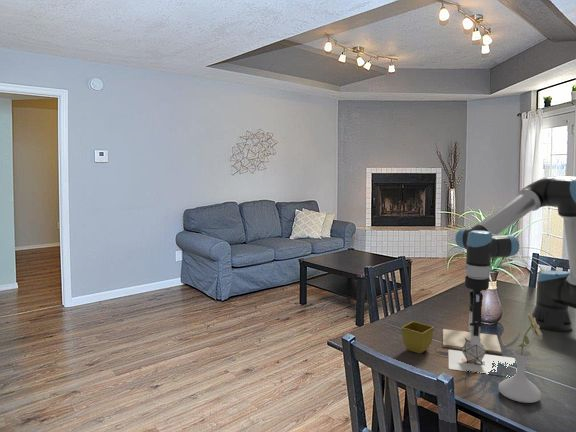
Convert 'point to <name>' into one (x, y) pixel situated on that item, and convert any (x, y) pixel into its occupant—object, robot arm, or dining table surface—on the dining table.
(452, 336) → the wooden pad
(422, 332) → the flower pot
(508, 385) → the flower in vase
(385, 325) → the dining table surface
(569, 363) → the dining table surface
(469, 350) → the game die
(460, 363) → the card
